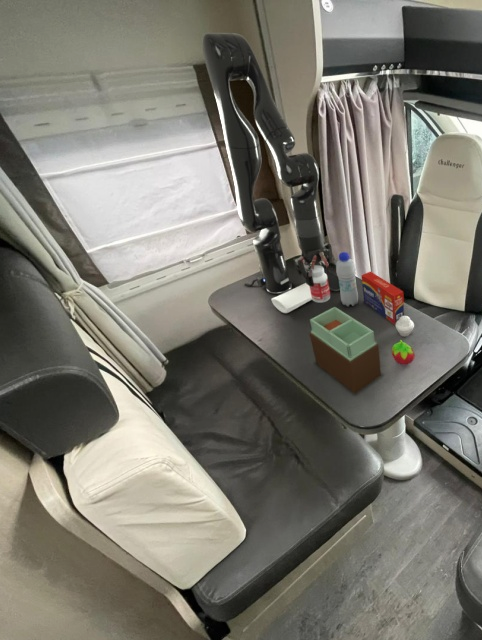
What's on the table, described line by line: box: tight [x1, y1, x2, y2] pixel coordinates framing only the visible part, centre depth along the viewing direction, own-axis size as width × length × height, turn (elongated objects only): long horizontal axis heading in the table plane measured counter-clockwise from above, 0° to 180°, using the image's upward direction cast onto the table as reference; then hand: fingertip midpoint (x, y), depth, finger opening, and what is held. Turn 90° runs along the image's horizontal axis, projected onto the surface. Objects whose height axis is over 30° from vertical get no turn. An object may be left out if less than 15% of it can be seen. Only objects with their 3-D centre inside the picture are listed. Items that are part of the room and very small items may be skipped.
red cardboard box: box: [361, 271, 405, 326], centre depth 127 cm, size 18×4×12 cm, turn 42°
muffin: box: [394, 315, 415, 337], centre depth 119 cm, size 6×6×7 cm
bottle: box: [335, 251, 359, 307], centre depth 128 cm, size 7×7×20 cm
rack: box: [308, 306, 382, 395], centre depth 103 cm, size 18×10×17 cm, turn 47°
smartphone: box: [327, 272, 340, 292], centre depth 145 cm, size 8×1×15 cm
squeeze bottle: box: [270, 282, 313, 314], centre depth 134 cm, size 10×20×5 cm, turn 139°
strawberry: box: [391, 339, 415, 366], centre depth 107 cm, size 6×7×10 cm
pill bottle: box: [309, 264, 331, 304], centre depth 118 cm, size 6×6×11 cm
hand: (318, 280), depth 117 cm, fingers closed on pill bottle, 6 cm apart
